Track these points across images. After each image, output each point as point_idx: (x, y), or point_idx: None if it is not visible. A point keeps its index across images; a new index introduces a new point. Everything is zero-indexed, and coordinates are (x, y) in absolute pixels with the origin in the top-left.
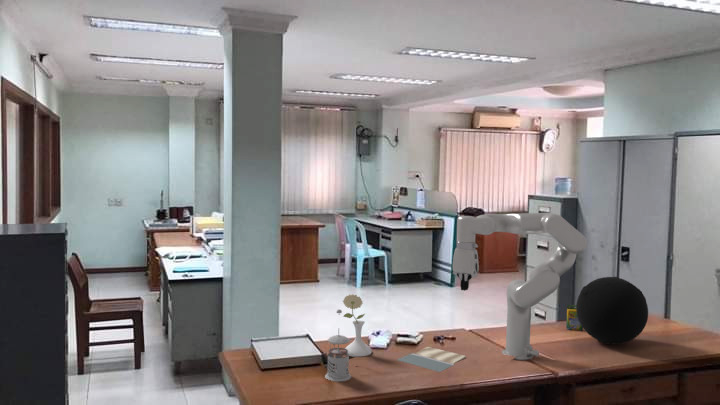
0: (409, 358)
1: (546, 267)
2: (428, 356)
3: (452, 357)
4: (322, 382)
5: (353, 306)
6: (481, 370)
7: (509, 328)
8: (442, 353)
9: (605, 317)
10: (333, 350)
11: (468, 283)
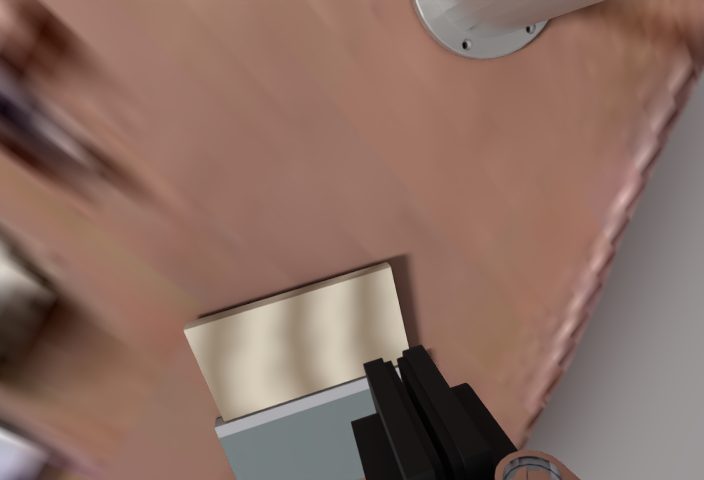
0: (267, 468)
1: None
2: (290, 393)
3: (365, 322)
4: None
5: None
6: (497, 283)
7: (559, 4)
8: (302, 328)
9: None
10: None
11: (502, 436)
